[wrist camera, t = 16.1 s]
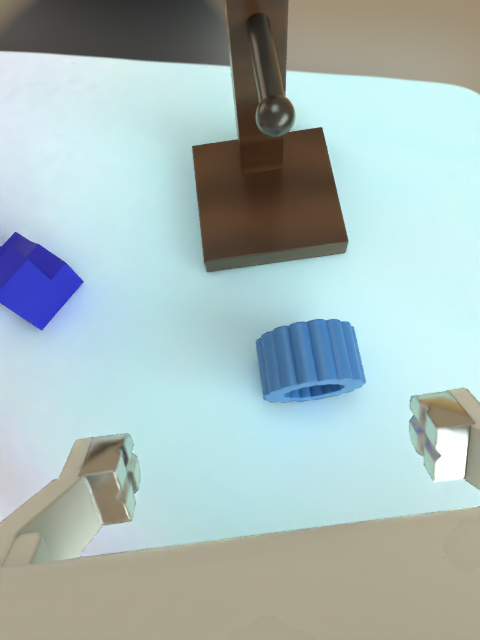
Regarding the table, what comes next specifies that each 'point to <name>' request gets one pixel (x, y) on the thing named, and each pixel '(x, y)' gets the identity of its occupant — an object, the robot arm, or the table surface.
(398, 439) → the table surface
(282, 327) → the fluted cylinder
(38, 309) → the cable clip
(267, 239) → the hook stand
